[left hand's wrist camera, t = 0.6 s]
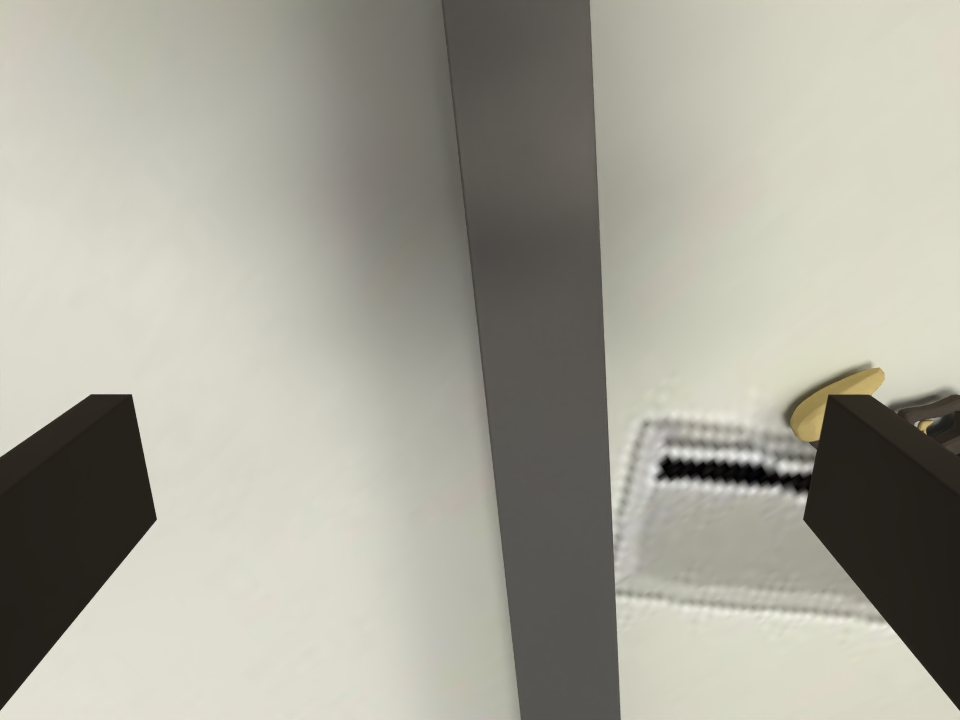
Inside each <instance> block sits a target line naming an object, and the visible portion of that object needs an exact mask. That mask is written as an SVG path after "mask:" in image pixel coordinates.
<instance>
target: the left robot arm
mask: <svg viewBox="0 0 960 720" xmlns="http://www.w3.org/2000/svg"><path fill="white" fill-rule="evenodd" d="M156 520H157V518H156V513H155V508H154V503H153V498H152V493H151V488H150V483H149V478H148V473H147V468H146V463H145V458H144V453H143V448H142V443H141V438H140V433H139V428H138V423H137V418H136V413H135V408H134V403H133V398H132V394H91V395H90V396H88V397H87V398H85V399H84V400H82V401H81V402H79V403H78V404H77V405H75V406H74V407H72V408H71V409H69V410H68V411H66V412H65V413H64V414H62V415H61V416H59V417H58V418H56V419H55V420H53V421H52V422H51V423H49V424H48V425H46V426H45V427H43V428H42V429H41V430H39V431H38V432H36V433H35V434H33V435H32V436H30V437H29V438H28V439H26V440H25V441H23V442H22V443H20V444H19V445H17V446H16V447H15V448H13V449H12V450H10V451H9V452H7V453H6V454H4V455H3V456H2V457H0V710H1V709H2V708H3V707H4V705H5V704H6V703H7V702H8V701H9V699H10V698H11V697H12V696H13V694H14V693H15V692H16V691H17V690H18V688H19V687H20V686H21V685H22V683H23V682H24V681H25V680H26V679H27V677H28V676H29V675H30V674H31V673H32V671H33V670H34V669H35V668H36V666H37V665H38V664H39V663H40V662H41V660H42V659H43V658H44V657H45V655H46V654H47V653H48V652H49V651H50V649H51V648H52V647H53V646H54V644H55V643H56V642H57V641H58V640H59V638H60V637H61V636H62V635H63V633H64V632H65V631H66V630H67V629H68V627H69V626H70V625H71V624H72V622H73V621H74V620H75V619H76V618H77V616H78V615H79V614H80V613H81V611H82V610H83V609H84V608H85V607H86V605H87V604H88V603H89V602H90V601H91V599H92V598H93V597H94V596H95V594H96V593H97V592H98V591H99V590H100V588H101V587H102V586H103V585H104V583H105V582H106V581H107V580H108V579H109V577H110V576H111V575H112V574H113V572H114V571H115V570H116V569H117V568H118V566H119V565H120V564H121V563H122V561H123V560H124V559H125V558H126V557H127V555H128V554H129V553H130V552H131V550H132V549H133V548H134V547H135V546H136V544H137V543H138V542H139V541H140V539H141V538H142V537H143V536H144V535H145V533H146V532H147V531H148V530H149V528H150V527H151V526H152V525H153V524H154V522H155V521H156ZM803 520H804V521H805V522H806V524H807V525H808V526H809V527H810V528H811V530H812V531H813V532H814V533H815V535H816V536H817V537H818V538H819V539H820V541H821V542H822V543H823V544H824V546H825V547H826V548H827V549H828V550H829V552H830V553H831V554H832V555H833V557H834V558H835V559H836V560H837V561H838V563H839V564H840V565H841V566H842V568H843V569H844V570H845V571H846V572H847V574H848V575H849V576H850V577H851V579H852V580H853V581H854V582H855V583H856V585H857V586H858V587H859V588H860V590H861V591H862V592H863V593H864V594H865V596H866V597H867V598H868V599H869V601H870V602H871V603H872V604H873V605H874V607H875V608H876V609H877V610H878V611H879V613H880V614H881V615H882V616H883V618H884V619H885V620H886V621H887V622H888V624H889V625H890V626H891V627H892V629H893V630H894V631H895V632H896V633H897V635H898V636H899V637H900V638H901V640H902V641H903V642H904V643H905V644H906V646H907V647H908V648H909V649H910V651H911V652H912V653H913V654H914V655H915V657H916V658H917V659H918V660H919V662H920V663H921V664H922V665H923V666H924V668H925V669H926V670H927V671H928V673H929V674H930V675H931V676H932V677H933V679H934V680H935V681H936V682H937V683H938V685H939V686H940V687H941V688H942V690H943V691H944V692H945V693H946V694H947V696H948V697H949V698H950V699H951V701H952V702H953V703H954V704H955V705H956V707H957V708H958V709H959V710H960V457H958V456H957V455H956V454H954V453H953V452H951V451H950V450H948V449H947V448H945V447H944V446H943V445H941V444H940V443H938V442H937V441H935V440H934V439H932V438H931V437H930V436H928V435H927V434H925V433H924V432H922V431H921V430H919V429H918V428H917V427H915V426H914V425H912V424H911V423H909V422H908V421H907V420H905V419H904V418H902V417H901V416H899V415H898V414H896V413H895V412H894V411H892V410H891V409H889V408H888V407H886V406H885V405H883V404H882V403H881V402H879V401H878V400H876V399H875V398H873V397H872V396H870V395H869V394H828V398H827V403H826V408H825V413H824V418H823V423H822V428H821V433H820V438H819V443H818V448H817V453H816V458H815V463H814V468H813V473H812V478H811V483H810V488H809V493H808V498H807V503H806V508H805V513H804V518H803Z"/></svg>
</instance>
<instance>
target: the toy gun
mask: <svg viewBox="0 0 960 720" xmlns="http://www.w3.org/2000/svg"><path fill="white" fill-rule="evenodd" d="M884 379H885V377H884V372H883V371H882V369H881V368H873V369H867V370H864V371H861V372H859V373H856V374H853V375H851V376H848V377H846V378H844V379H842V380H840V381H837V382H835V383H833V384H831V385H828V386H826V387H824V388H822V389H821V390H819V391H817V392H816V393H814V394H813V395H811V396H810V397H808V398H807V399H806V400H804V401H803V402H802V403H801V404H800V405H799V406H798V407H797V408H796V409H795V411H794V413H793V415H792V417H791V420H790V425H791V428H792V430H793V432H794V434H795V436H796V437H798V438H799V439H800V440H803V441H806V442H809V443H810V444H811V445H812V446H813V447H815V448H816V449H817V448H818V443H819V438H820V433H821V428H822V423H823V418H824V413H825V408H826V403H827V398H828V394H869V395H870V396H871V394H872V393H874V392H875V391H876V390H877V389H878V388H879V387H880V385H881V384H882V383H883V381H884ZM952 412H955V421H954V425H953V427H952V428H950V429H948V430H946V431H944V432H942V433H939V434H937V435H935V436H933V437H931V438H932V439H934V440H935V441H937V442H938V443H940V444H941V445H943V446H944V447H945V448H947V449H948V450H950V451H951V452H953V453H954V454H956V455H957V456H958V457H960V395H951V396H949V397H947V398H945V399H942V400H940V401H938V402H935V403H932V404H928V405H924V406H920V407H913V408H906V409H901V410H899V411H898V415H899V416H901V417H902V418H904V419H905V420H907V421H908V422H909V423H911V424H912V425H914V424H915V422H917V421H920V422H919V424H918V427H917V428H918V429H919V430H921V431H922V432H924V433H925V434H927V433H926V428H927V427H928V426H929V425H930V424H932V423H933V422H934V421H932V420H925V419H930V418H936V417H941V416H944V415H947V414H950V413H952Z"/></svg>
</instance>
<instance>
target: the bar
mask: <svg viewBox="0 0 960 720" xmlns="http://www.w3.org/2000/svg"><path fill="white" fill-rule="evenodd" d="M442 7H443V16H444V25H445V34H446V43H447V53H448V62H449V71H450V80H451V89H452V98H453V107H454V116H455V125H456V134H457V143H458V152H459V161H460V170H461V179H462V188H463V197H464V206H465V215H466V225H467V234H468V243H469V252H470V261H471V270H472V279H473V288H474V297H475V306H476V315H477V324H478V333H479V342H480V351H481V360H482V369H483V378H484V387H485V397H486V406H487V415H488V424H489V433H490V442H491V451H492V460H493V469H494V478H495V487H496V496H497V505H498V514H499V523H500V532H501V541H502V550H503V559H504V568H505V578H506V587H507V596H508V605H509V614H510V623H511V632H512V641H513V650H514V659H515V668H516V677H517V686H518V695H519V704H520V713H521V720H621V716H620V693H619V670H618V647H617V623H616V600H615V577H614V554H613V531H612V508H611V485H610V462H609V438H608V415H607V392H606V369H605V346H604V323H603V300H602V277H601V253H600V230H599V207H598V184H597V161H596V138H595V115H594V92H593V68H592V45H591V22H590V0H442Z"/></svg>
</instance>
